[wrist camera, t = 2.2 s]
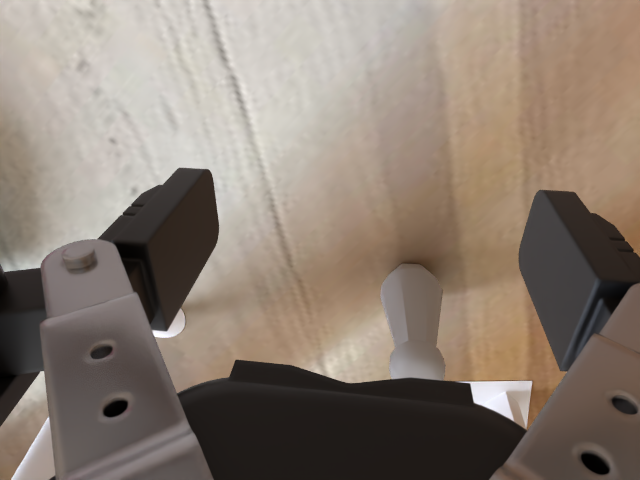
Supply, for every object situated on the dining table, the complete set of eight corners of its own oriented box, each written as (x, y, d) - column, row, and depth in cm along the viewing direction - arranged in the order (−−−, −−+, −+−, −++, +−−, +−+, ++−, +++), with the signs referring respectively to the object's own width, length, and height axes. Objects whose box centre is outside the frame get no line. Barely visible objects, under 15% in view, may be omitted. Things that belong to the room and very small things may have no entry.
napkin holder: (532, 379, 51) (548, 423, 47) (525, 444, 57) (539, 489, 52) (395, 382, 54) (396, 424, 49) (402, 444, 60) (404, 487, 55)
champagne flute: (130, 284, 51) (-38, 503, 30) (189, 303, 51) (63, 530, 31) (125, 327, 54) (-28, 549, 34) (181, 344, 55) (62, 573, 34)
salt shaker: (418, 245, 44) (431, 340, 33) (450, 285, 46) (472, 387, 35) (368, 273, 47) (364, 371, 36) (401, 310, 49) (407, 414, 37)
